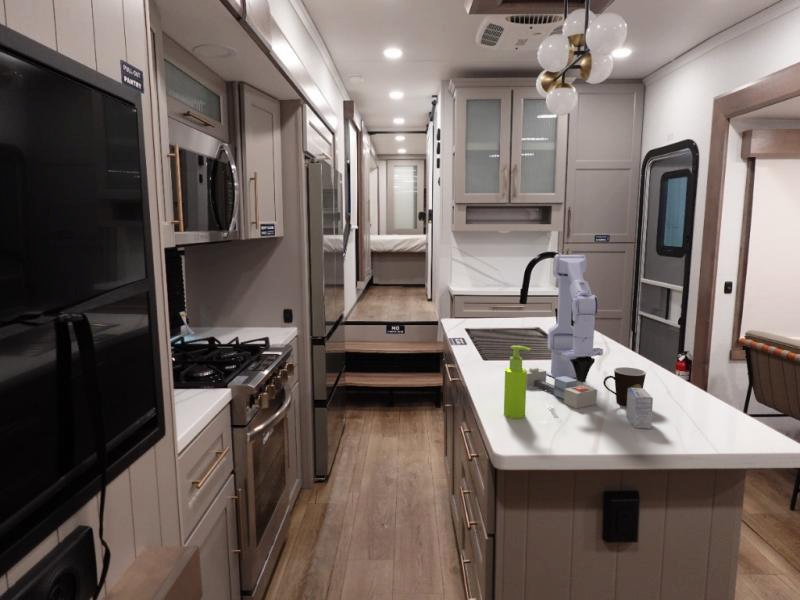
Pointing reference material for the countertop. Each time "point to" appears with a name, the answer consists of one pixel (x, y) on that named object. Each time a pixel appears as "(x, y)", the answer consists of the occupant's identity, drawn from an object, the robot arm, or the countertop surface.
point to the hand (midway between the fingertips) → (581, 381)
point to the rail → (544, 385)
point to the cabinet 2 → (580, 397)
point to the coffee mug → (626, 382)
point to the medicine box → (639, 408)
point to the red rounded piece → (580, 389)
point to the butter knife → (553, 412)
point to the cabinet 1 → (535, 376)
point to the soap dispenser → (515, 386)
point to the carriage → (563, 385)
